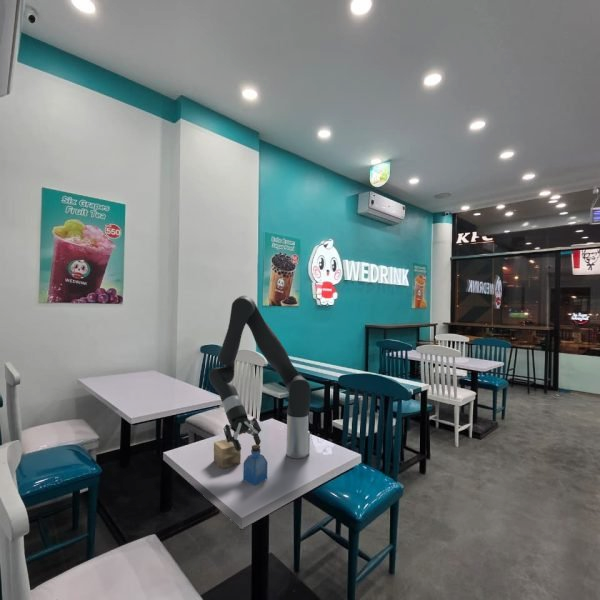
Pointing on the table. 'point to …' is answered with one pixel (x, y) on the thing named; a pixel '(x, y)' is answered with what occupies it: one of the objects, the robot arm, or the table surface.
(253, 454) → the perfume bottle
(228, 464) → the tower bottom block
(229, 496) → the table surface
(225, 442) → the tower top block
